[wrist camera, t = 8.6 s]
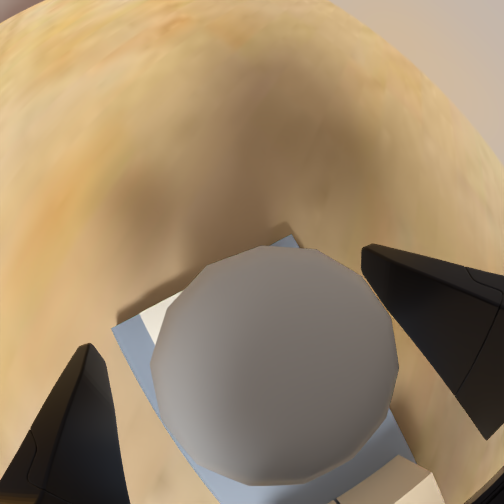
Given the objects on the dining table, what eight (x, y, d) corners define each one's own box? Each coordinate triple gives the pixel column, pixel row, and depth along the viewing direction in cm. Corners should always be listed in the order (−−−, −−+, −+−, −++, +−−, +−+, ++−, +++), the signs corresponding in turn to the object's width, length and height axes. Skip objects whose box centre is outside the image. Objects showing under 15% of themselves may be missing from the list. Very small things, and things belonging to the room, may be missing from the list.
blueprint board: (422, 485, 16) (460, 507, 11) (288, 568, 13) (303, 607, 8) (287, 239, 20) (309, 208, 15) (116, 329, 17) (82, 325, 12)
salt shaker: (234, 274, 18) (273, 120, 5) (310, 341, 17) (493, 329, 4) (163, 350, 16) (25, 373, 4) (241, 418, 15) (298, 577, 3)
